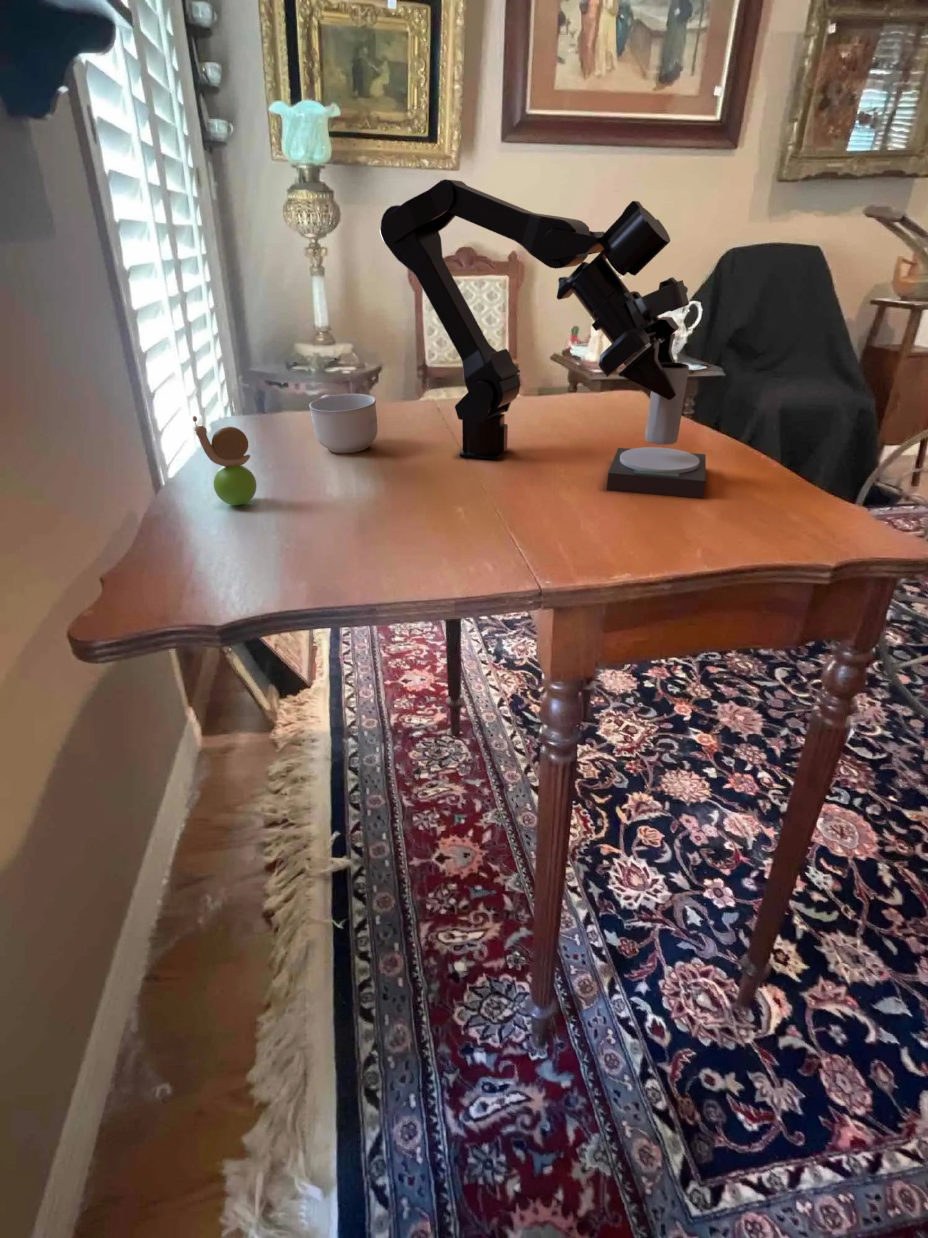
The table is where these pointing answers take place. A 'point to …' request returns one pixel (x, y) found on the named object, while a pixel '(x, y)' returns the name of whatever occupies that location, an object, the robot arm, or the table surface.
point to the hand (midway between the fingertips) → (677, 394)
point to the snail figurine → (229, 463)
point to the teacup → (344, 421)
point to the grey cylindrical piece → (667, 407)
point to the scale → (658, 472)
